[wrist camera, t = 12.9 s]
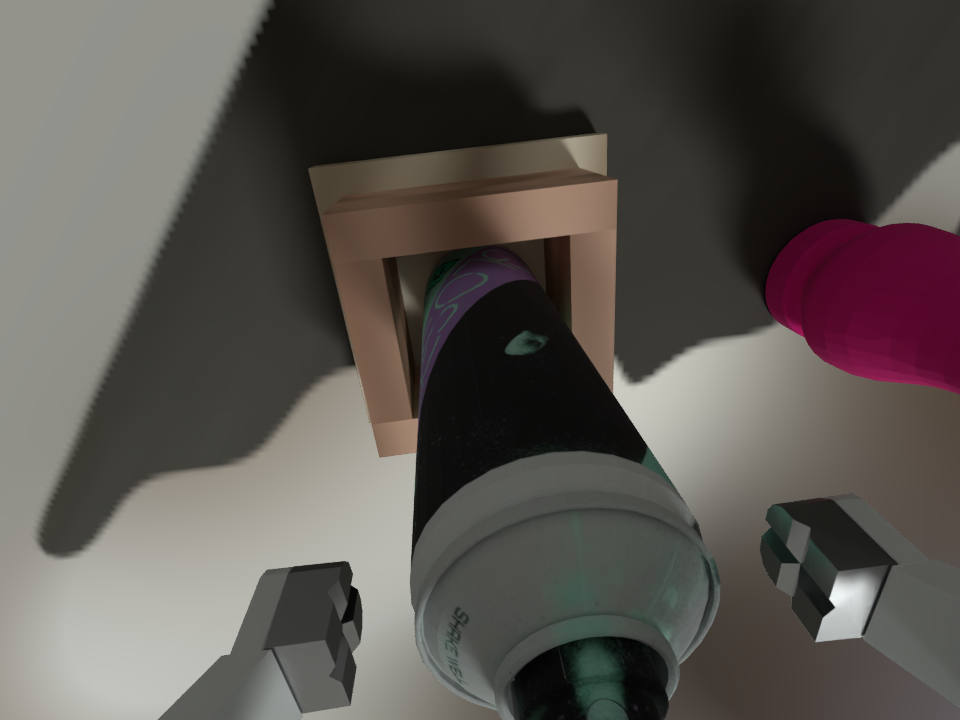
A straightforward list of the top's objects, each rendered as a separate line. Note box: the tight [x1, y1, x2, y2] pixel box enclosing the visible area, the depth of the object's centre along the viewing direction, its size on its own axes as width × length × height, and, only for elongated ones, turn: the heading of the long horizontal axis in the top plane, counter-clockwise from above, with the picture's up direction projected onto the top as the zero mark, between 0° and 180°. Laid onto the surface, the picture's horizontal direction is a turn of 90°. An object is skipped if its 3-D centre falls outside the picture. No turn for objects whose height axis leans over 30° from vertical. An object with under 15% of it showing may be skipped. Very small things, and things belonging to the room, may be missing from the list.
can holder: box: [308, 133, 617, 457], centre depth 23 cm, size 13×13×6 cm
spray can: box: [410, 244, 720, 720], centre depth 15 cm, size 6×6×20 cm
